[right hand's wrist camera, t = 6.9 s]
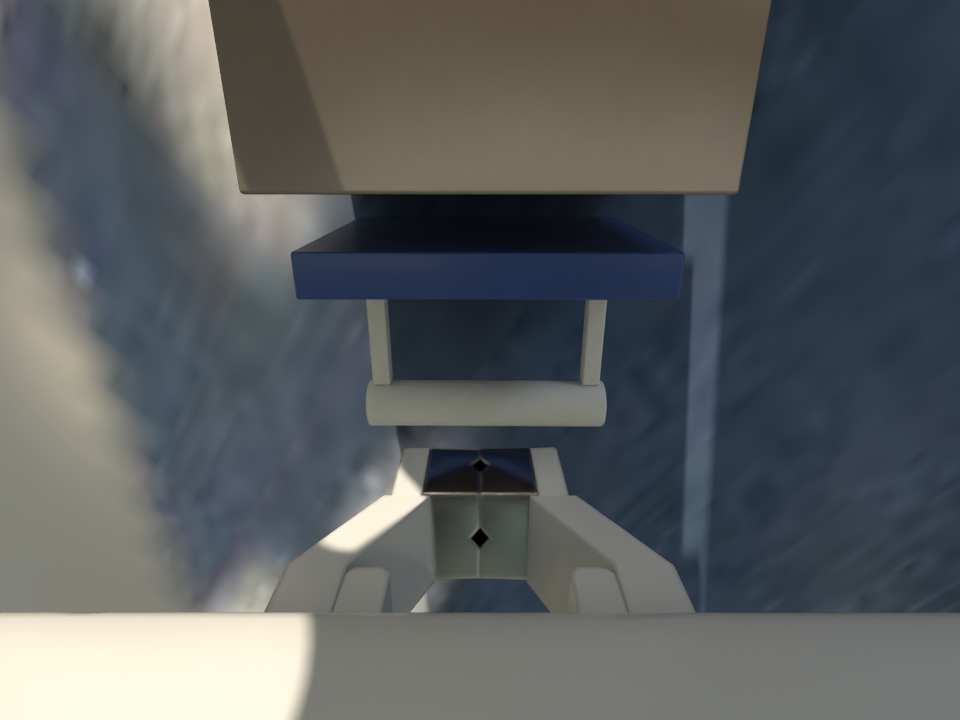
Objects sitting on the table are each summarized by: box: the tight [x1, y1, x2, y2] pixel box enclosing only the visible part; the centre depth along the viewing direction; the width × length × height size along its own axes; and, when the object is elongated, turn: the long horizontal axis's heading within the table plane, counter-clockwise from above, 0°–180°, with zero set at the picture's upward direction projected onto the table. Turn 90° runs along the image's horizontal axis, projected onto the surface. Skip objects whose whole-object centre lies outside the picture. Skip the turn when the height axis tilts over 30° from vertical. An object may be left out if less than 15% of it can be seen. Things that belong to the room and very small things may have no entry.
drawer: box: [291, 217, 685, 426], centre depth 14 cm, size 24×10×8 cm, turn 0°
